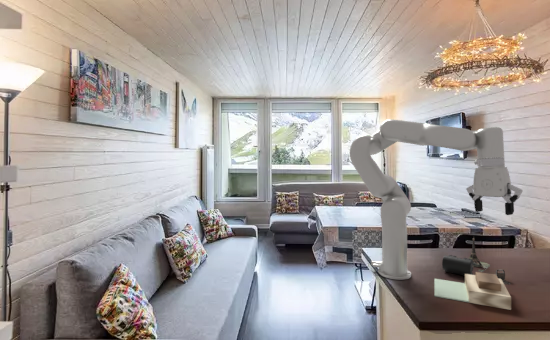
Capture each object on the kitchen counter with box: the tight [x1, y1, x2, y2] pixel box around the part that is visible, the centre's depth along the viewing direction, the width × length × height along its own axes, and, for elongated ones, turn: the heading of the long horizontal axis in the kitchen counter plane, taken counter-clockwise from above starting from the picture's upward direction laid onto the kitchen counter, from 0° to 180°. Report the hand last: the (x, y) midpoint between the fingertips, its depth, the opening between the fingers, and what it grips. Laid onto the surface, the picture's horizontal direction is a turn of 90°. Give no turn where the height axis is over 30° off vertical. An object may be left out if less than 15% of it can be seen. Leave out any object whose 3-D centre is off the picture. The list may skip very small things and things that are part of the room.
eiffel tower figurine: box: [467, 237, 491, 273], centre depth 132 cm, size 15×10×13 cm
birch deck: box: [464, 274, 512, 311], centre depth 102 cm, size 11×16×4 cm
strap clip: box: [495, 269, 511, 285], centre depth 115 cm, size 8×3×4 cm, turn 172°
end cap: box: [441, 254, 474, 277], centre depth 122 cm, size 10×7×7 cm
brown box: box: [475, 271, 501, 292], centre depth 102 cm, size 6×9×2 cm, turn 152°
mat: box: [433, 278, 469, 303], centre depth 107 cm, size 10×16×1 cm, turn 152°
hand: (493, 212), depth 103 cm, fingers open, 9 cm apart
